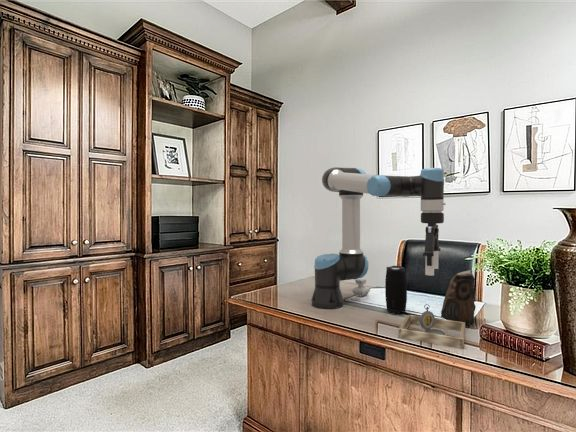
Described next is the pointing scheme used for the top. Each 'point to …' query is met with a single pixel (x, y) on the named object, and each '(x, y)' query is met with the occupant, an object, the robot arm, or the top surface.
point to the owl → (460, 299)
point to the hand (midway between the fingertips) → (432, 271)
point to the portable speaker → (396, 289)
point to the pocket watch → (429, 322)
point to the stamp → (360, 288)
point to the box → (430, 336)
